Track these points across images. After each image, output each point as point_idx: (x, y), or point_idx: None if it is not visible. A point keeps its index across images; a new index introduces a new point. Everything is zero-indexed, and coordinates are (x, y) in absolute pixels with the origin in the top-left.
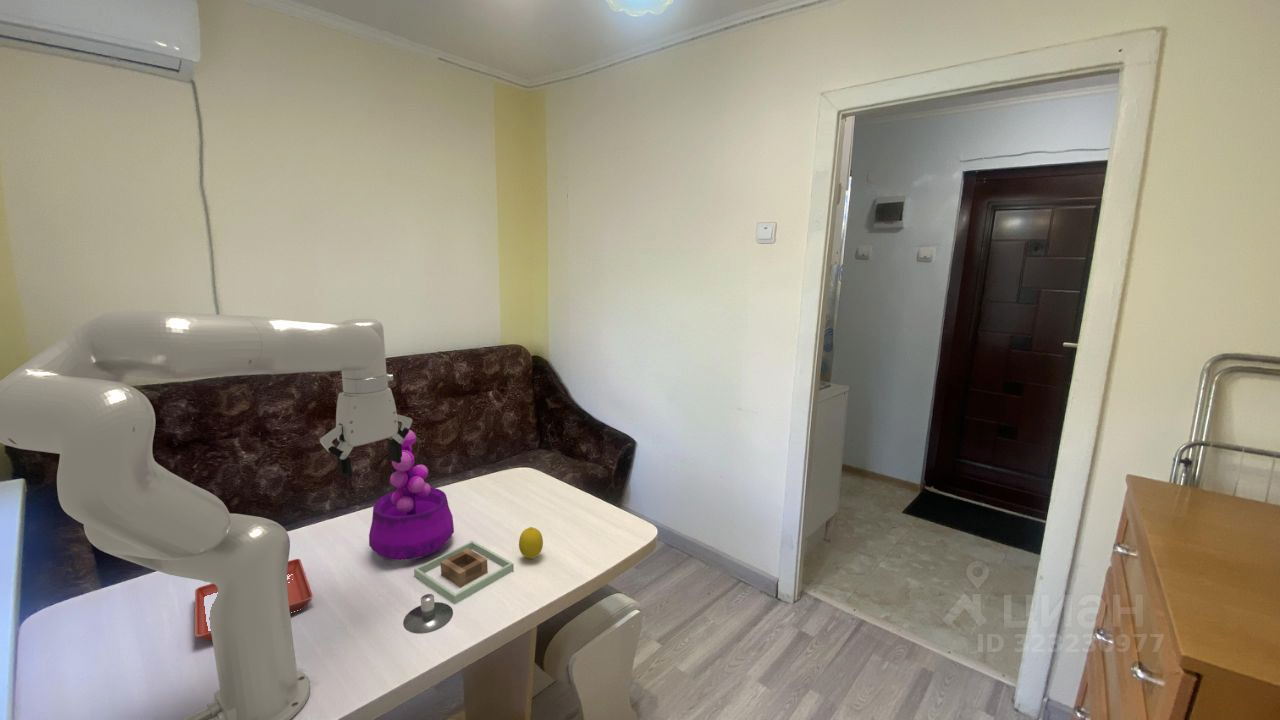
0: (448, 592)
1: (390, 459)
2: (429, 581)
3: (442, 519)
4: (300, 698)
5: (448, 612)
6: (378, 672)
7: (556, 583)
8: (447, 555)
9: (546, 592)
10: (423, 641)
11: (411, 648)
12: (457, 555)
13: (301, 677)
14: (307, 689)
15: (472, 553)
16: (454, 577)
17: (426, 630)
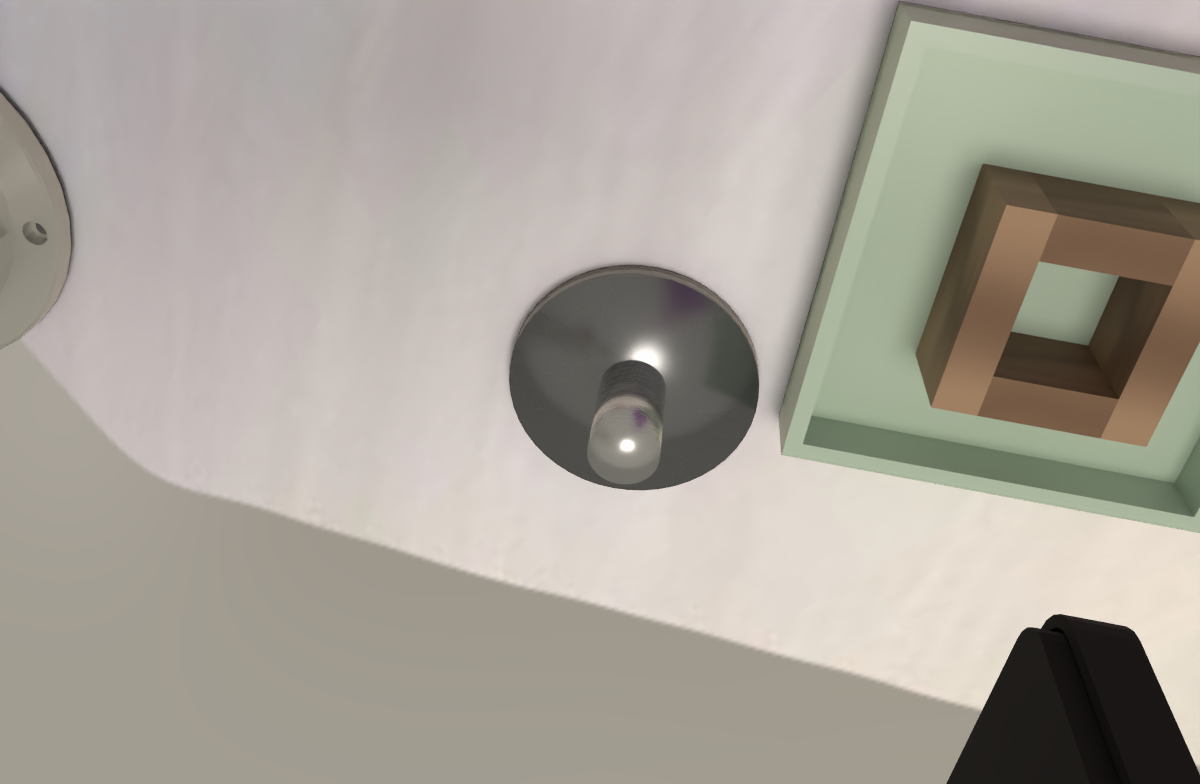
0: (796, 404)
1: (1024, 639)
2: (851, 210)
3: None
4: (1, 329)
5: (709, 445)
6: (299, 428)
7: None
8: (1174, 90)
9: None
10: (522, 452)
11: (463, 440)
12: (1125, 251)
13: (39, 222)
14: (35, 311)
15: (1187, 322)
16: (940, 330)
17: (559, 444)
